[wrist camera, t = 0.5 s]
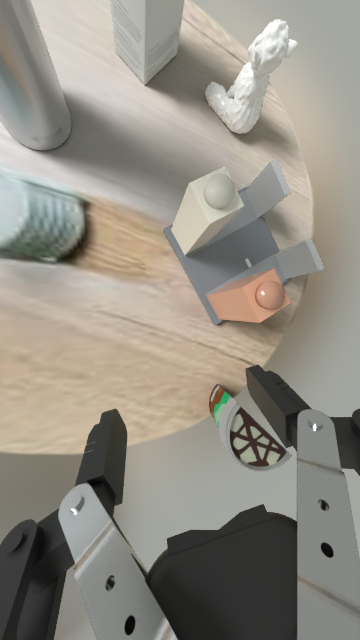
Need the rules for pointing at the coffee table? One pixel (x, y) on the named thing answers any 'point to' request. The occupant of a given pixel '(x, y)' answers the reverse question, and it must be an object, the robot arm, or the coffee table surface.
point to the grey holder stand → (247, 244)
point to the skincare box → (146, 33)
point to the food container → (244, 435)
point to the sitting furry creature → (252, 79)
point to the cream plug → (205, 209)
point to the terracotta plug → (250, 298)
